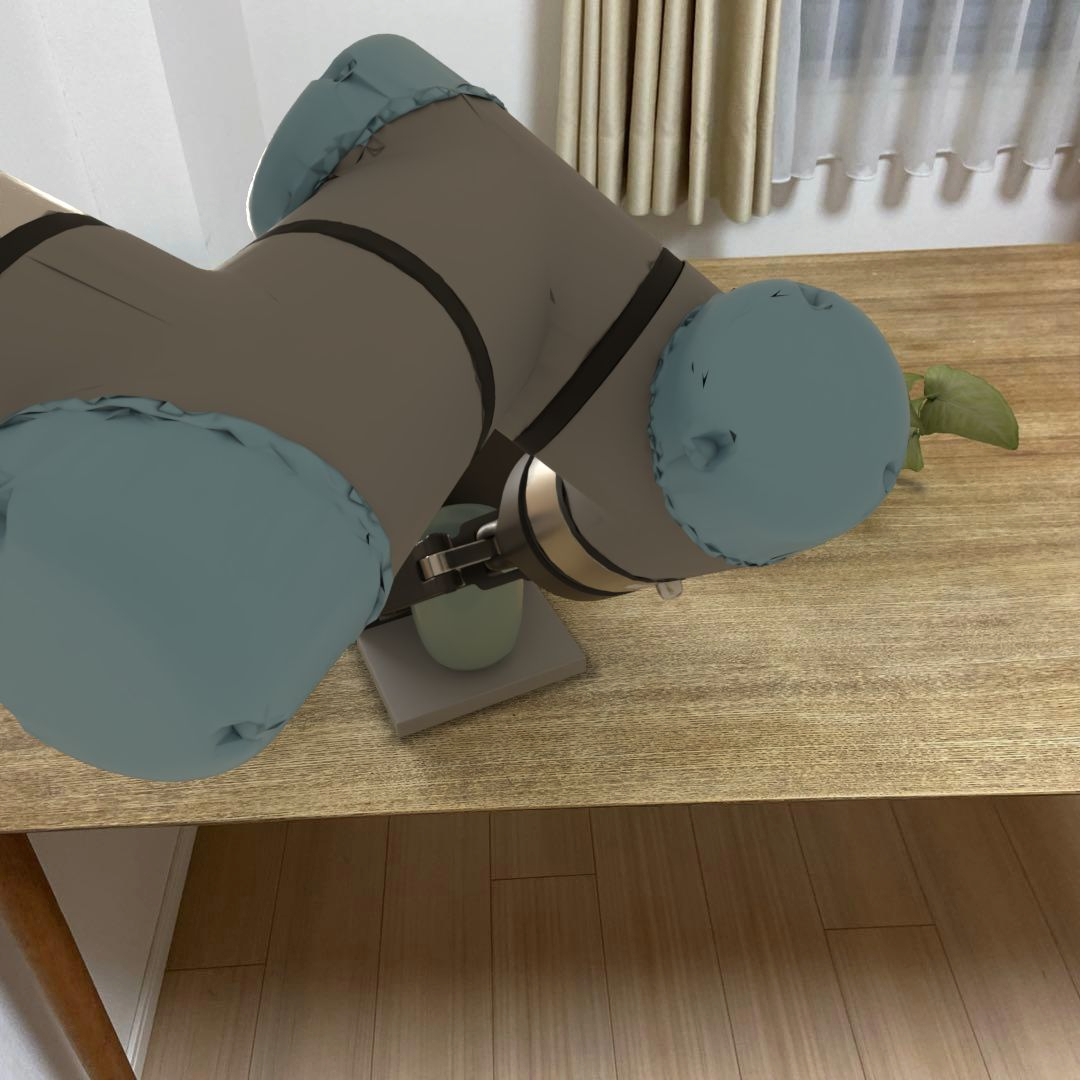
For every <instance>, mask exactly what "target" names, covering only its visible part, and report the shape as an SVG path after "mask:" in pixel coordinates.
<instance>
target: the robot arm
mask: <svg viewBox="0 0 1080 1080" xmlns="http://www.w3.org/2000/svg"><path fill="white" fill-rule="evenodd" d="M246 220H247V225H248V227H249V229H250V231H251V233H252V235H253V237H254V238H255V239H254V240H253V241H252V242H250V243H248V244H247V245H245V246H244V247H243V248H242V249H240V250H238V251H237V253H235V254H234V255H232V256H231V257H229V258H228V259H227V260H225V261H224V262H222V263H220V264H219V265H217V266H215V268H213V269H210V270H209V269H204V268H200V267H197V266H195V265H193V264H191V263H190V262H188V261H186V260H183V259H182V258H179V257H177V256H176V255H174V254H171V253H169V252H168V251H165V250H163V249H162V248H160V247H158V246H157V245H154V244H152V243H150V242H148V241H146V240H144V239H142V238H140V237H138V236H136V235H134V234H133V233H130V232H128V231H126V230H124V229H119V228H116V227H114V226H112V225H110V224H108V223H106V222H105V221H102V220H100V219H98V218H96V217H94V216H93V215H90V214H88V213H86V212H84V211H82V210H80V209H78V208H76V207H74V206H72V205H71V204H68V203H66V202H65V201H63V200H61V199H58V198H57V197H54V196H53V195H51V194H49V193H47V192H44V191H43V190H40V189H38V188H36V187H34V186H32V185H30V184H28V183H26V182H24V181H23V180H21V179H19V178H17V177H15V176H12V175H10V174H9V173H7V172H5V171H3V170H1V169H0V704H1V705H2V706H3V707H4V708H5V709H6V710H7V711H8V712H9V713H10V714H11V715H13V717H14V718H15V719H16V720H17V722H18V723H19V725H20V728H22V730H23V731H24V733H26V734H27V735H29V736H31V737H32V738H34V739H36V740H38V741H39V742H41V743H43V744H45V745H47V746H48V747H50V748H52V749H54V750H56V751H58V752H60V753H62V754H64V755H66V756H68V757H70V758H72V759H74V760H76V761H79V762H80V763H83V764H85V765H88V766H90V767H94V768H96V769H99V770H102V771H105V772H110V773H112V774H117V775H119V776H124V777H128V778H132V779H137V780H143V781H153V782H160V783H180V782H181V783H182V782H189V781H198V780H199V781H200V780H206V779H209V778H213V777H216V776H219V775H223V774H225V773H228V772H230V771H233V770H235V769H236V768H238V767H241V766H243V765H244V764H246V763H247V762H249V761H250V760H251V761H252V759H254V758H255V757H257V756H258V755H259V754H260V753H262V751H263V750H265V749H266V748H267V747H268V746H269V745H270V744H272V743H273V741H274V740H275V739H276V737H278V735H280V733H281V732H282V731H283V730H284V729H285V727H286V726H287V725H288V724H289V722H290V721H291V720H292V718H294V716H295V715H296V713H297V712H298V711H299V710H300V709H301V708H302V706H303V704H305V702H306V701H307V700H308V698H309V697H310V696H311V695H312V694H313V692H314V691H315V690H316V688H317V687H318V686H319V684H320V683H321V682H322V681H323V679H324V678H325V677H326V675H327V674H328V673H329V672H330V670H331V669H332V668H333V667H334V666H335V664H336V663H337V662H338V660H340V658H341V656H342V655H343V654H344V653H345V652H346V650H347V649H349V648H350V647H352V646H353V645H354V644H356V642H355V641H356V640H357V638H358V637H359V635H360V634H361V633H362V631H363V630H364V628H365V627H366V625H368V624H370V623H371V622H373V621H375V620H376V619H377V618H378V617H379V619H380V621H383V620H386V619H389V618H392V617H395V616H397V615H399V614H401V613H404V612H406V611H408V610H410V609H411V607H410V606H412V605H415V604H418V603H421V602H424V601H426V600H429V599H432V598H435V597H438V596H441V595H444V594H449V593H452V592H455V591H457V590H458V589H461V588H464V587H467V586H470V585H473V584H475V585H476V586H477V587H478V588H480V589H481V590H489V589H492V588H495V587H499V586H502V585H505V584H508V583H511V582H514V581H517V580H520V579H524V580H526V581H533V582H534V583H535V584H536V585H537V587H538V588H541V589H542V590H544V591H546V592H547V593H549V594H552V595H554V596H556V597H558V598H562V599H565V600H569V601H574V602H599V601H603V600H607V599H612V598H616V597H621V596H625V595H628V594H631V593H635V592H637V591H640V590H643V589H648V588H651V587H654V586H655V589H656V591H657V594H658V595H659V596H660V597H661V599H662V600H673V599H676V598H679V597H680V596H681V595H682V594H683V592H684V587H683V582H682V581H683V580H687V579H691V578H697V577H702V576H706V575H711V574H717V573H721V572H727V571H732V570H737V569H742V568H749V567H752V568H762V567H767V566H770V565H771V564H773V565H775V564H780V563H781V562H783V561H785V560H786V559H789V558H791V557H793V556H795V555H796V556H797V554H800V553H802V552H805V551H808V550H810V549H814V548H816V547H819V546H822V545H824V544H825V543H827V542H829V541H831V540H833V539H835V538H838V537H841V536H843V535H845V534H846V533H848V532H850V531H852V530H853V529H854V528H856V527H858V526H859V525H860V524H861V523H863V522H864V521H866V520H867V519H868V518H869V517H871V516H872V515H873V514H874V513H875V511H877V509H878V508H879V507H880V506H881V505H882V504H883V502H884V501H885V499H886V498H887V497H888V495H889V494H891V492H892V491H893V490H894V488H895V486H896V482H897V479H898V478H899V475H900V473H901V472H902V470H903V469H902V466H903V463H904V460H905V456H906V452H907V448H908V443H909V435H910V405H909V398H908V392H907V387H906V383H905V380H904V376H903V373H902V372H903V370H902V368H901V366H900V364H899V361H898V359H897V357H896V355H895V353H894V351H893V349H892V348H891V345H890V344H889V342H888V340H887V338H885V336H884V334H883V333H882V331H881V329H880V328H879V327H878V326H877V325H876V324H875V323H874V322H873V321H872V319H871V317H869V315H867V314H866V313H865V311H863V310H862V309H861V308H859V307H858V306H857V305H856V304H854V303H852V302H851V301H850V300H849V299H847V298H845V297H844V296H841V295H840V294H838V293H837V292H836V291H831V290H826V289H822V288H819V287H817V286H814V285H811V284H808V283H803V282H798V281H793V280H790V279H788V278H769V279H762V280H757V281H753V282H749V283H746V284H743V285H740V286H738V287H733V288H731V290H729V291H728V292H724V291H723V290H721V289H720V288H719V287H718V286H717V285H716V284H714V283H713V282H712V281H711V280H709V278H707V277H706V276H705V275H704V274H703V273H702V272H700V271H699V270H698V269H697V268H696V267H694V266H693V265H692V264H691V263H690V262H688V261H687V260H686V259H683V260H681V259H679V258H678V257H677V256H676V255H675V253H672V251H670V250H669V249H668V248H667V247H665V246H663V244H662V243H661V242H660V241H659V240H658V239H656V238H655V237H654V236H653V235H652V234H651V233H649V232H648V231H647V230H646V229H645V228H643V227H642V226H641V225H640V224H639V223H637V222H636V221H635V220H634V219H633V218H632V217H631V216H630V215H628V214H627V213H626V212H625V211H624V210H622V209H621V208H620V207H619V206H618V205H617V204H616V203H615V202H613V201H612V200H611V199H610V198H608V197H607V195H605V194H604V193H603V192H601V191H600V189H598V188H597V187H596V186H595V185H594V184H592V183H591V182H590V181H589V180H588V179H587V178H585V177H584V176H583V174H581V173H580V172H578V171H577V170H576V169H575V168H574V167H573V166H571V165H570V164H569V163H568V162H567V161H565V160H564V159H563V158H562V157H561V156H560V155H559V154H557V153H556V152H555V151H554V150H553V149H552V148H550V147H549V145H547V144H546V143H544V142H543V141H542V140H541V139H540V138H539V137H538V136H536V135H535V134H534V133H533V132H532V131H531V130H530V129H528V128H527V127H526V126H525V125H524V124H523V123H521V121H519V120H518V119H516V118H515V117H514V116H513V115H512V114H511V113H510V112H509V110H508V108H507V107H506V106H505V103H504V102H502V101H501V99H500V98H499V97H497V96H496V95H495V94H494V93H490V92H488V90H487V89H486V88H484V87H481V86H477V85H474V84H472V83H470V82H469V81H468V80H467V79H465V78H464V77H462V76H461V75H459V74H458V73H457V72H455V71H454V70H452V69H451V68H450V67H449V66H447V65H446V64H444V63H443V62H442V61H441V60H439V59H438V58H436V57H435V56H434V55H432V54H431V53H429V52H428V51H427V50H426V49H424V48H423V47H422V46H420V45H419V44H418V43H416V42H415V41H413V40H411V39H409V38H408V37H405V36H403V35H399V34H396V33H376V34H371V35H369V36H366V37H364V38H361V39H359V40H357V41H355V42H353V43H352V44H350V45H349V46H348V47H346V48H344V49H343V50H342V51H341V52H340V53H338V55H336V57H335V58H334V59H332V61H331V63H330V64H329V66H328V67H327V68H326V69H325V71H324V72H323V73H322V75H321V76H320V77H319V78H317V79H314V80H311V81H310V82H309V83H308V84H307V85H306V87H305V88H304V89H303V91H301V93H300V94H299V96H298V97H297V98H296V100H295V101H294V103H293V104H292V105H291V107H290V108H289V110H288V111H287V112H286V114H285V115H284V116H283V118H282V120H281V121H280V123H279V125H278V126H277V128H276V130H275V131H274V133H273V135H272V136H271V138H270V140H269V141H268V143H267V145H266V147H265V149H264V151H263V153H262V155H261V156H260V160H259V162H258V165H257V167H256V169H255V170H254V174H253V176H252V179H251V182H250V186H249V190H248V192H247V198H246ZM494 429H497V430H498V431H499V432H501V433H502V434H503V435H505V436H506V437H507V438H509V439H510V440H511V441H512V442H513V443H514V444H516V445H517V446H518V447H519V448H521V449H522V450H523V451H524V452H526V453H525V454H524V455H523V456H522V458H521V459H520V460H519V461H518V462H517V464H516V465H515V467H514V468H513V470H512V471H511V473H510V475H509V477H508V480H507V482H506V485H505V488H504V491H503V495H502V500H501V506H500V507H499V509H497V510H495V511H492V512H489V513H487V514H484V515H482V516H479V517H477V518H474V519H471V520H469V521H466V522H464V523H463V524H462V525H461V526H460V530H459V534H458V536H456V537H454V538H451V537H450V535H447V533H443V532H442V533H438V532H436V533H433V534H430V535H427V538H426V539H424V540H422V541H420V542H418V541H419V539H420V538H421V536H422V535H423V533H424V532H425V530H426V529H427V527H428V526H429V524H430V523H431V521H432V520H433V518H434V517H435V515H436V514H437V512H438V511H439V509H440V508H441V506H442V505H443V503H444V502H445V500H446V499H447V497H448V496H449V494H450V493H451V491H452V490H453V488H454V487H455V485H456V484H457V482H458V481H459V479H460V478H461V476H462V475H463V473H464V472H465V471H466V469H467V468H468V467H469V466H470V464H471V462H472V460H473V458H474V457H475V456H476V455H477V453H478V452H479V451H480V449H481V448H482V446H483V445H484V444H485V442H486V441H487V439H488V438H489V436H490V435H491V433H492V432H493V430H494ZM417 542H418V543H417ZM514 567H517V569H515V570H512V571H509V572H506V573H503V572H502V570H506V569H510V568H514Z"/></svg>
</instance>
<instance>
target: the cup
mask: <svg viewBox="0 0 1080 1080" xmlns="http://www.w3.org/2000/svg"><path fill="white" fill-rule="evenodd" d="M495 510H497V509H495V508H493V507H490V506H486V505H481V504H456V505H449V506H445V507H441V508H440V509H439V511H438V512H437V514H436V515H435V517H434V518H433V520H432V521H431V523H430V524H429V526H428V527H427V529H426V530H425V532H424V533H423V535H422V536H421V538H420V539H419V541H418V542H420V541H422V540H424V539H426V538H427V535H430V534H433V533H436V532H438V533H442V532H443V533H447V535H450V537H451V538H454V537H456V536H458V534H459V530H460V526H461V525H462V524H463V523H464V522H466V521H469V520H471V519H474V518H477V517H479V516H482V515H484V514H487V513H489V512H492V511H495ZM418 542H417V543H418ZM515 569H517V567H514V568H510V569H506V570H502V572H503V573H506V572H509V571H512V570H515ZM523 597H524V594H523V579H520V580H517V581H514V582H511V583H508V584H505V585H502V586H499V587H495V588H492V589H489V590H481V589H480V588H478V587H477V586H476V585H475V584H473V585H470V586H467V587H464V588H461V589H458V590H457V591H455V592H452V593H449V594H444V595H441V596H438V597H435V598H432V599H429V600H426V601H424V602H421V603H418V604H415V605H412V606H410V607H411V612H412V617H413V621H414V625H415V628H416V631H417V634H418V636H419V638H420V640H421V642H422V645H423V647H424V648H425V650H426V651H427V652H428V654H429V655H430V656H431V657H432V658H433V659H434V660H435V661H437V662H438V663H439V664H440V665H442V666H444V667H446V668H449V669H453V670H457V671H474V670H479V669H483V668H486V667H489V666H491V665H493V664H495V663H497V662H499V661H500V660H502V659H503V658H505V656H506V655H507V654H508V653H509V652H510V651H511V650H512V649H513V647H514V645H515V643H516V641H517V638H518V636H519V632H520V627H521V622H522V615H523Z"/></svg>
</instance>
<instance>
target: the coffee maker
mask: <svg viewBox="0 0 1080 1080" xmlns="http://www.w3.org/2000/svg"><path fill="white" fill-rule="evenodd" d="M525 453H526V452H524V451H523V450H522V449H521V448H519V447H518V446H517V445H516V444H514V443H513V442H512V441H511V440H510V439H509V438H507V437H506V436H505V435H503V434H502V433H501V432H499V431H498V430H497V429H494V430H493V432H492V433H491V435H490V436H489V438H488V439H487V441H486V442H485V444H484V445H483V446H482V448H481V449H480V451H479V452H478V453H477V455H476V456H475V457H474V458H473V460H472V462H471V464H470V466H469V467H468V468H467V469H466V471H465V472H464V473H463V475H462V476H461V478H460V479H459V481H458V482H457V484H456V485H455V487H454V488H453V490H452V491H451V493H450V494H449V496H448V497H447V499H446V500H445V502H444V503H443V505H442V506H441V507H445V506H449V505H456V504H481V505H486V506H490V507H493V508H495V509H499V507H500V506H501V500H502V495H503V491H504V488H505V485H506V482H507V480H508V477H509V475H510V473H511V471H512V470H513V468H514V467H515V465H516V464H517V462H518V461H519V460H520V459H521V458H522V456H523V455H524V454H525ZM523 594H524V597H523V615H522V622H521V627H520V632H519V636H518V638H517V641H516V643H515V645H514V647H513V649H512V650H511V651H510V652H509V653H508V654H507V655H506V656H505V658H503V659H502V660H500V661H499V662H497V663H495V664H493V665H491V666H489V667H486V668H483V669H479V670H474V671H457V670H453V669H449V668H446V667H444V666H442V665H440V664H439V663H438V662H437V661H435V660H434V659H433V658H432V657H431V656H430V655H429V654H428V652H427V651H426V650H425V648H424V647H423V645H422V642H421V640H420V638H419V636H418V634H417V631H416V628H415V625H414V621H413V617H412V612H411V609H410V610H408V611H406V612H404V613H401V614H399V615H397V616H395V617H392V618H389V619H386V620H383V621H380V619H379V617H378V618H377V619H376V620H375V621H373V622H371V623H370V624H368V625H366V627H365V628H364V630H363V631H362V633H361V634H360V635H359V637H358V638H357V640H356V641H355V645H356V647H357V648H358V651H359V653H360V656H361V658H362V659H363V661H364V664H365V666H366V668H367V672H369V675H370V678H371V679H372V682H373V684H374V687H375V689H376V691H377V693H378V695H379V697H380V699H381V701H382V704H383V706H384V708H385V710H386V713H387V714H388V717H389V719H390V722H391V724H392V726H393V728H394V731H395V732H396V735H397V737H398V738H399V739H402V738H405V737H407V736H410V735H412V734H415V733H418V732H421V731H424V730H426V729H429V728H433V727H435V726H437V725H441V724H443V723H445V722H449V721H451V720H455V719H457V718H459V717H462V716H465V715H468V714H471V713H474V712H476V711H479V710H483V709H485V708H487V707H490V706H494V705H496V704H498V703H502V702H504V701H508V700H510V699H513V698H516V697H518V696H521V695H524V694H526V693H529V692H533V691H535V690H538V689H540V688H543V687H546V686H548V685H552V684H554V683H558V682H561V681H562V680H565V679H568V678H571V677H574V676H577V675H580V674H582V673H585V672H586V671H587V656H586V655H585V653H584V652H583V650H582V649H581V647H580V646H579V644H578V643H577V642H576V640H575V639H574V637H573V636H572V634H571V633H570V632H569V630H568V628H567V627H566V626H565V624H564V623H563V622H562V620H561V619H560V617H559V616H558V614H557V613H556V611H555V610H554V609H553V607H552V605H551V604H550V603H549V601H548V600H547V598H546V596H545V595H544V594H543V592H542V591H541V590H540V587H539V586H538V585H537V584H535V583H534V582H533V581H526V580H524V579H523Z"/></svg>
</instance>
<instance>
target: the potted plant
mask: <svg viewBox="0 0 1080 1080" xmlns="http://www.w3.org/2000/svg"><path fill="white" fill-rule="evenodd" d="M902 373H903V376H904V380H905V383H906V387H907V392H908V398H909V405H910V435H909V443H908V448H907V452H906V456H905V460H904V463H903V466H902V469H901V470H911V471H913V472H916V473H918V472H920V471H922V470H923V469H925V463H924V459H923V453H922V448H921V442H920V441H921V440H920V438H921V437H923V436H931V435H933V434H944V435H945V434H949V435H955V436H959V437H961V438H964V439H968V440H972V441H976V442H980V443H984V444H987V445H990V446H991V445H992V446H994V447H998V448H1001V449H1005V450H1009V451H1016V450H1018V448H1019V445H1020V441H1019V440H1020V438H1019V437H1020V436H1019V435H1020V434H1019V433H1020V432H1019V427H1020V426H1019V423H1018V420H1017V417H1016V415H1015V414H1014V411H1013V410H1012V407H1011V406H1010V405H1009V403H1008V401H1007V400H1006V398H1005V397H1004V396H1003V395H1002V393H1001V391H1000V390H998V389H997V388H995V386H993V385H992V384H990V383H988V381H987V380H986V379H984V378H983V377H980V376H977V375H974V374H972V373H970V372H968V371H967V370H964V369H957V368H952V367H951V366H950V365H947V364H937V365H932V366H930V367H928V368H927V369H926V371H925V373H924V374H925V375H922V374H918V373H912V372H903V371H902ZM922 379H924V380H923V384H924V386H923V396H919V397H917V398H914V399H911V396H910V392H911V390H912V388H913V386H914V385H915V384H916V383H917V382H918V381H919V380H922ZM925 400H926V401H925ZM923 402H924V403H923Z"/></svg>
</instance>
